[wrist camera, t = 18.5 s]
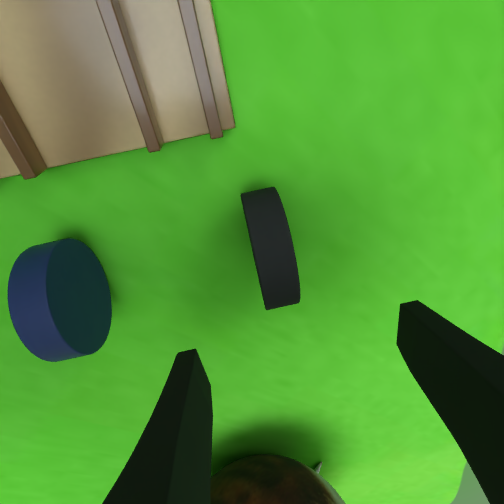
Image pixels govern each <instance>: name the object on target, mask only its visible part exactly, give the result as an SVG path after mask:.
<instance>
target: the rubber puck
mask: <svg viewBox="0 0 504 504" xmlns="http://www.w3.org/2000/svg"><path fill="white" fill-rule="evenodd" d="M241 200H242V205H243V209H244V214H245V219H246V223H247V228H248V233H249V237H250V242H251V247H252V251H253V256H254V260H255V265H256V269H257V274H258V278H259V283H260V287H261V292H262V296H263V301H264V305H265V309H266V310H270V309H274V308H279V307H283V306H288V305H293V304H297V303H299V302H300V283H299V275H298V268H297V262H296V257H295V252H294V247H293V242H292V238H291V234H290V230H289V226H288V222H287V218H286V215H285V211H284V208H283V205H282V202H281V199H280V196H279V194H278V192H277V190H276V189H275V187H269V188H264V189H260V190H255V191H251V192H246V193H242V194H241Z"/></svg>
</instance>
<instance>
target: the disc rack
mask: <svg viewBox="0 0 504 504" xmlns="http://www.w3.org/2000/svg"><path fill="white" fill-rule="evenodd" d="M232 128H235V122H234V117H233V112H232V107H231V102H230V97H229V92H228V87H227V82H226V77H225V72H224V66H223V61H222V56H221V51H220V46H219V41H218V36H217V31H216V26H215V21H214V16H213V11H212V6H211V1H210V0H0V179H1V178H5V177H10V176H15V175H19V174H21V175H22V176H23V178H24V179H31V178H35V177H37V176H38V175H40V174H41V173H42V172H44V171H45V170H46V169H47V168H52V167H56V166H61V165H65V164H70V163H75V162H79V161H84V160H89V159H93V158H98V157H102V156H107V155H112V154H116V153H121V152H125V151H130V150H135V149H139V148H144V147H147V149H148V151H149V152H150V153H151V152H155V151H160V150H161V148H162V146H163V144H164V143H167V142H172V141H176V140H181V139H185V138H190V137H195V136H199V135H204V134H209V133H210V137H211V139H216V138H220V137H223V132H222V130H227V129H232Z"/></svg>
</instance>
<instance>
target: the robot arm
mask: <svg viewBox="0 0 504 504" xmlns="http://www.w3.org/2000/svg"><path fill="white" fill-rule="evenodd" d="M397 346H398V348H399V350H400V352H401V354H402V356H403V358H404V360H405V362H406V364H407V366H408V368H409V370H410V372H411V373H412V375H413V376H414V378H415V380H416V381H417V383H418V384H419V386H420V387H421V389H422V390H423V392H424V393H425V395H426V396H427V398H428V399H429V401H430V402H431V404H432V405H433V407H434V408H435V410H436V411H437V413H438V414H439V416H440V417H441V419H442V420H443V422H444V423H445V425H446V426H447V428H448V429H449V431H450V432H451V434H452V436H453V437H454V439H455V440H456V442H457V444H458V445H459V447H460V449H461V451H462V452H463V454H464V456H465V458H466V460H467V462H468V463H469V465H470V467H471V469H472V471H473V473H474V474H475V476H476V478H477V480H478V481H479V484H480V486H481V488H482V489H483V491H484V493H485V495H486V497H487V498H488V501H489V503H490V504H504V355H502V354H500V353H498V352H497V351H495V350H493V349H492V348H490V347H489V346H487V345H485V344H484V343H482V342H480V341H479V340H477V339H476V338H474V337H472V336H471V335H469V334H468V333H466V332H465V331H463V330H462V329H460V328H459V327H457V326H455V325H454V324H452V323H451V322H449V321H448V320H446V319H445V318H443V317H442V316H440V315H439V314H438V313H436V312H435V311H433V310H432V309H430V308H429V307H427V306H426V305H424V304H423V303H421V302H420V301H418V300H416V301H411V302H407V303H402V304H400V311H399V322H398V333H397ZM212 425H213V410H212V396H211V385H210V382H209V380H208V377H207V375H206V372H205V370H204V367H203V365H202V363H201V360H200V358H199V355H198V353H197V350H196V349H192V350H187V351H182V352H178V354H177V355H176V358H175V360H174V363H173V366H172V368H171V371H170V374H169V376H168V379H167V381H166V384H165V386H164V388H163V391H162V393H161V395H160V398H159V400H158V402H157V404H156V406H155V409H154V411H153V413H152V415H151V417H150V420H149V422H148V424H147V426H146V428H145V430H144V431H143V433H142V435H141V437H140V439H139V441H138V443H137V445H136V447H135V449H134V451H133V453H132V455H131V456H130V458H129V460H128V462H127V464H126V465H125V467H124V469H123V470H122V472H121V474H120V476H119V477H118V479H117V481H116V482H115V484H114V486H113V487H112V489H111V490H110V492H109V494H108V495H107V497H106V498H105V500H104V501H103V503H102V504H210V484H211V455H212Z"/></svg>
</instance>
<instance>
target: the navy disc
mask: <svg viewBox="0 0 504 504" xmlns="http://www.w3.org/2000/svg"><path fill="white" fill-rule="evenodd" d="M8 305H9V311H10V316H11V319H12V322H13V325H14V328H15V330H16V332H17V334H18V336H19V338H20V340H21V341H22V342H23V344H24V345H25V346H26V348H27V349H28V350H29V351H30V352H31V353H33V354H34V355H35V356H37V357H38V358H40V359H42V360H46V361H50V362H57V361H63V360H67V359H72V358H76V357H81V356H85V355H90V354H93V353H95V352H96V351H98V350H99V349H100V348H101V347H102V345H103V344H104V342H105V341H106V339H107V336H108V333H109V330H110V325H111V316H112V305H111V296H110V290H109V285H108V282H107V279H106V276H105V273H104V270H103V268H102V266H101V264H100V262H99V260H98V259H97V257H96V256H95V254H94V253H93V252H92V251H91V249H90V248H89V247H88V246H87V245H85V244H84V243H82V242H81V241H79V240H76V239H70V238H68V239H62V240H58V241H53V242H49V243H44V244H39V245H35V246H32V247H29V248H28V249H26V250H25V251H23V252H22V253H21V254H20V255H19V257H18V258H17V259H16V261H15V263H14V265H13V267H12V270H11V273H10V277H9V282H8Z"/></svg>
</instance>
